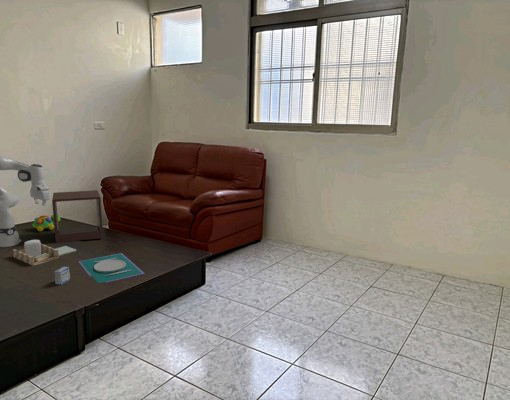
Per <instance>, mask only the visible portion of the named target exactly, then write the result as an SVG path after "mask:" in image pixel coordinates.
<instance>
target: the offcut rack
mask: <svg viewBox="0 0 510 400" xmlns="http://www.w3.org/2000/svg"><path fill="white" fill-rule="evenodd" d="M12 253H13V254H12V255H13V258H15V259H17V260H19V261H21V262H24V263H26V264H28V265H30V266H37V265H41V264H44V263H48V262H52V261H54V260H57V259H58V260H59V258H60V256H59V252H58V250H56V248H53V247H51V246H48V245H46V244H43V243H41V254H44V253H47V254H50V256H52V258H49V259H46V260H42V261H39V262H35V263H34V257H32V256H30V255H27V254H25V250H24V249H19V250H18V249H16V248H13V249H12Z"/></svg>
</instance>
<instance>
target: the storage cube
mask: <svg viewBox="0 0 510 400" xmlns="http://www.w3.org/2000/svg"><path fill="white" fill-rule="evenodd" d="M101 199H102V198H101V196H100V193H99V191H98V190H97V189H95V190H94V189H93V190H80V191H63V192H62V191H60V192H53V194H52V200H51V201H52V203H51V204H52V215H53V216H54V235H55V243H59V244H60V243H67V242H68V243H69V242H76V241H77V242H78V241H85V240H87V241H88V240H96V239H103V238H104V232H103V231H104V230H103V217H102V216H103V215H102V201H101ZM88 200H96V216H97V217H96V218H97V226H94V227H93V226H91V227H82V228H71V229H69V228H68V229H61V230H60V227H59V222H58V204H57V203H58V202H59V203H60V202H73V201H74V202H75V201H88Z"/></svg>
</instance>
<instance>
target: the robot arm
mask: <svg viewBox="0 0 510 400" xmlns="http://www.w3.org/2000/svg"><path fill="white" fill-rule="evenodd" d="M9 170H10V171H17V179H19V181H20V182H23V183H26V182H31V186H30V191H29V192H30V193H29V194H30V195H29V196H30V197H31V198H33V200H34V202H35V204H36V205H39V203H40V202H39V200H40V201H42V202H41V206H43V207H46V203H47V201H49V200H50V187H49V186H48V184H46V180H45V178H46V177H45V176H46V174H45V169H44V167H43V165H42V164H39V163H33V164H30V165H28V164H25V163H22V162H19V161H18V160H14V159H11V158H8V157H6V156H4V155H1V154H0V171H9ZM19 202H20V201H19V197H18V195H17V194H16V193H12V192H9V191H8V190H6V189H4V188H3V187H1V186H0V248H8V247H13V246H16V245H17V246H18V245H19V244H20V243H21V242H22V240H21V239H20V235H19V231H17V227H16V225H15V218H14V215H13V214H11V213H10V211H9V209H11V208H13V207H15V206H16V205H17V204H19Z"/></svg>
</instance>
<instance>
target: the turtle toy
mask: <svg viewBox="0 0 510 400" xmlns="http://www.w3.org/2000/svg"><path fill="white" fill-rule="evenodd" d="M57 215H58V214H57ZM60 221H61V216H60V215H58V223H59V222H60ZM31 226H33V228H34V229H36V230H37V231H38V232H43V231H44V229H49V230H50V231H51V230H55V227H54V216H53V214H51V216H50V217H49V216H47V215H40V216H38V217H37V216H36V217H35V218H34V221H33V223H32V224H31Z"/></svg>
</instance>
